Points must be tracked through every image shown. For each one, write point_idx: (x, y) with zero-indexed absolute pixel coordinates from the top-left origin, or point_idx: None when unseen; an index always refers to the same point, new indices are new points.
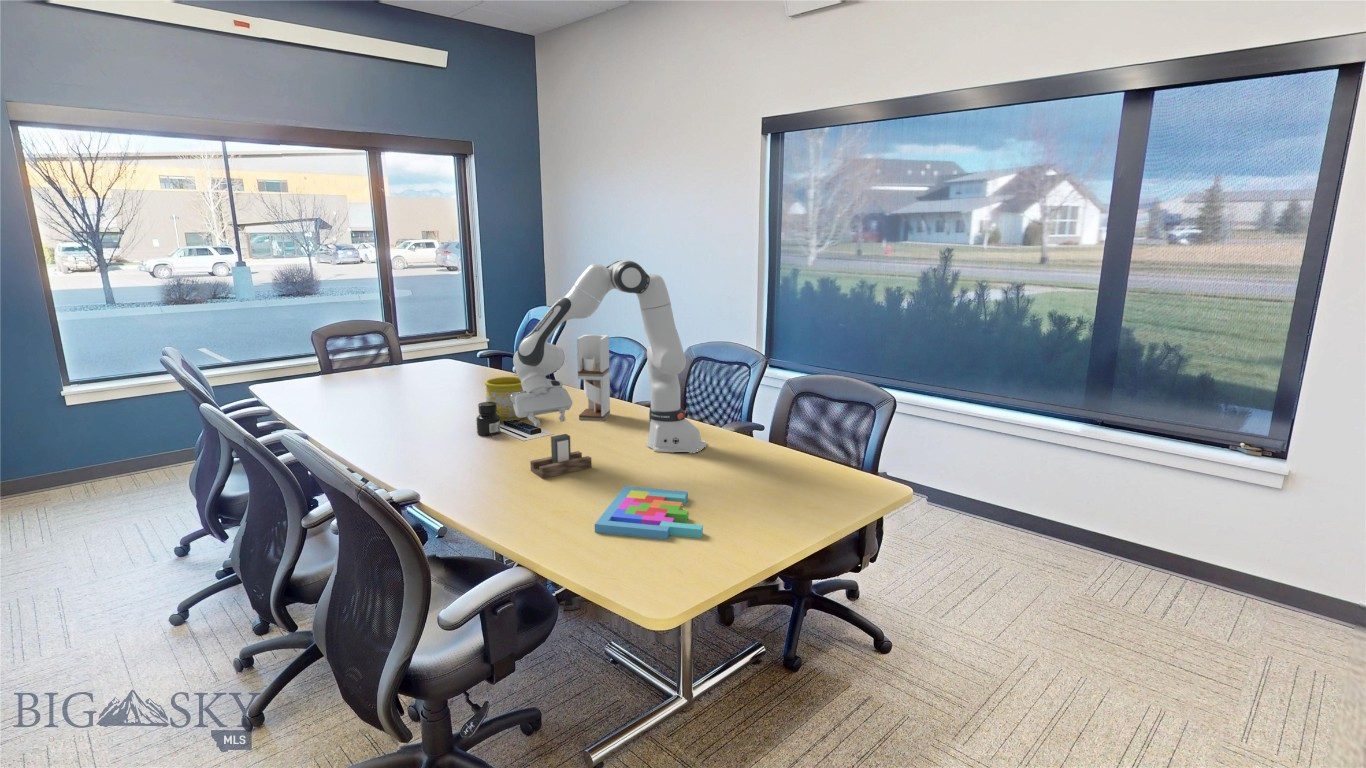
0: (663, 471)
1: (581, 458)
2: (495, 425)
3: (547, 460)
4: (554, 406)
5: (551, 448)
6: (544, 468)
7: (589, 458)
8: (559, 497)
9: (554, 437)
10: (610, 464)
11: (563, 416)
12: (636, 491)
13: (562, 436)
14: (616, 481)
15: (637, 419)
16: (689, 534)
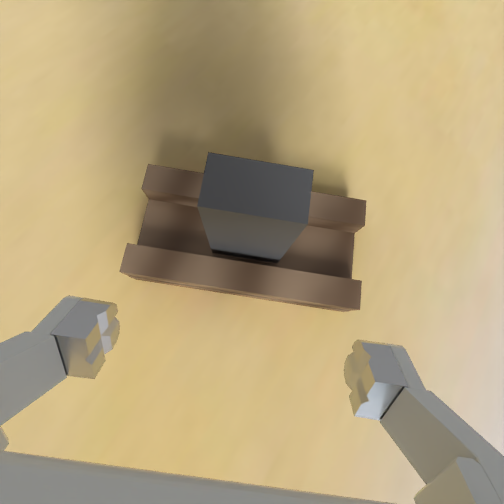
0: (30, 9)
1: (182, 183)
2: None
3: (295, 270)
4: (33, 482)
5: (291, 243)
6: (354, 200)
7: (157, 166)
8: (384, 71)
9: (300, 193)
10: (88, 162)
11: (64, 317)
12: None
13: (250, 176)
14: (193, 48)
15: None
16: None
